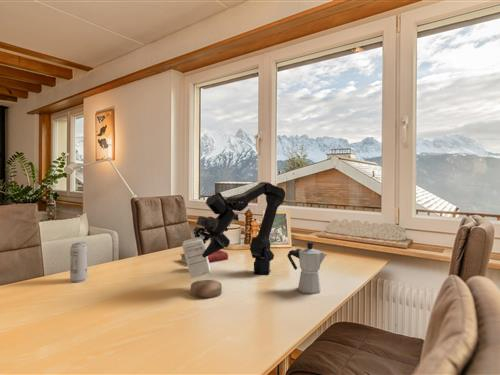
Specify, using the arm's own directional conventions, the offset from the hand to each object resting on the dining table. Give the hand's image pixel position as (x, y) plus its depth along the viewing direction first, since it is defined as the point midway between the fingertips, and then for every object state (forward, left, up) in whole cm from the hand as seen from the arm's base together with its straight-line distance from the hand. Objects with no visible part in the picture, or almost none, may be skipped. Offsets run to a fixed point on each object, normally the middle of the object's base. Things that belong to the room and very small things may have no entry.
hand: (196, 254), depth 115 cm
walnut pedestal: (-5, +2, -13) cm, 14 cm away
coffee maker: (-40, -11, -13) cm, 43 cm away
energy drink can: (+49, +2, -13) cm, 51 cm away
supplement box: (-1, -1, -7) cm, 7 cm away
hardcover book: (+13, -41, -14) cm, 45 cm away
